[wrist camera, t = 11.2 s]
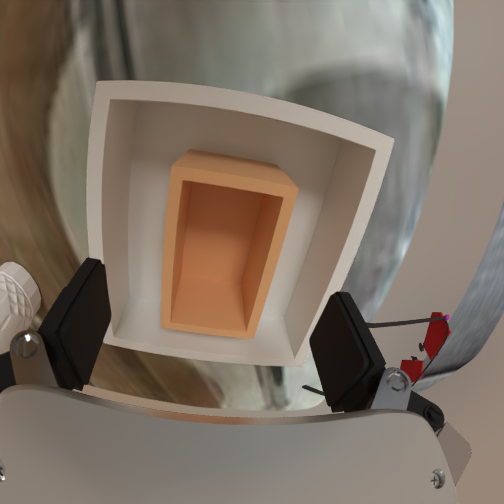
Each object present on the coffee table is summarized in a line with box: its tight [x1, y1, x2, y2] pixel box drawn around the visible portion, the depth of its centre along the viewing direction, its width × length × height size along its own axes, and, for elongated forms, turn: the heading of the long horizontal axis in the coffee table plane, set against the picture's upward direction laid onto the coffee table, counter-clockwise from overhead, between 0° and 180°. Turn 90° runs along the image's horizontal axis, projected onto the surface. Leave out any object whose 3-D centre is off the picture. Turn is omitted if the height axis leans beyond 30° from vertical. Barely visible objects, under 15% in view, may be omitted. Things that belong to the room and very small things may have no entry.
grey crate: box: [86, 80, 395, 367], centre depth 18 cm, size 18×16×6 cm
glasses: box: [302, 312, 451, 396], centre depth 28 cm, size 14×16×5 cm
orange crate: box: [161, 149, 299, 339], centre depth 17 cm, size 10×6×6 cm, turn 168°
